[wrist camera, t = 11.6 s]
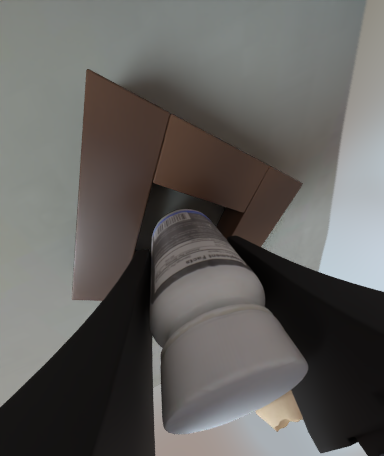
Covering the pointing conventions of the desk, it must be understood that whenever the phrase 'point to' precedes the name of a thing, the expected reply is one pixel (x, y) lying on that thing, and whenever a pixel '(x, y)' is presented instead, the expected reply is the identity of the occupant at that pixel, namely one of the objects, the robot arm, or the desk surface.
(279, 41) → the desk surface
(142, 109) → the holder
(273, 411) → the candle
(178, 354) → the pill bottle
